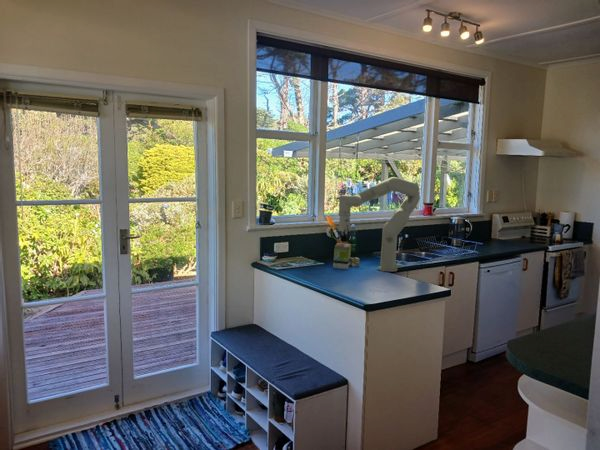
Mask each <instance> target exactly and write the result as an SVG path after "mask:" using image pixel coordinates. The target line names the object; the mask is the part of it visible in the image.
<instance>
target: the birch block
mask: <svg viewBox="0 0 600 450" xmlns="http://www.w3.org/2000/svg"><path fill="white" fill-rule="evenodd" d="M349 266H350V267H351V266H352V267H360V258H359V257H354V256H353V257H350V265H349Z"/></svg>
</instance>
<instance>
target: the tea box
mask: <svg viewBox="0 0 600 450" xmlns="http://www.w3.org/2000/svg"><path fill="white" fill-rule="evenodd" d="M351 252H352V244H351V243H344V242H341V243H340V242H337V243H336V244H335V245H334V249H333V260H332V261H333V262H332V263H333V264H332V267H333V269H341V270H348V269H349V267H350V266H351V265H350V258H351Z"/></svg>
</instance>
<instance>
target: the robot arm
mask: <svg viewBox="0 0 600 450" xmlns="http://www.w3.org/2000/svg"><path fill="white" fill-rule="evenodd" d="M392 192H397V193H399V194H402V195H404V196H405V195H406V196H405V198H404V199H403V201H402V202H401V204H400V205H399V206H398V207H397V209H396V210H395V211H394V212H393V216H392V217H391V218H390V220H389V221H387V222H385V223H384V225H383V227H382V231H381V233H382V235H381V250H380V251H381V252H380V253H381V254H380V264H379V265H380V266H377V269H378V271H381V272H387V273H389V272H390V273H391V272H397V271H398V268H402V267H403V264H399V263H396V260H397V257H396V256H397V245H398V235H399V234H400V233H401V231H402V230H403V229H404V228H405V227H406V225H407V224H408V222H409V220H410V215H411V214H412V213H413V212H414V210H415V209H416V207H417V205H418V204H419V201H420V186H419V185H418V184H417V183H416V182H413V181H409V180H404V179H402V178H399V177H396V176H391V177H389V178H387V179H385V180H383V181H381V182H378V183H376V184H374V185H372V186H371V187H369V188H367V189H365V190H363V191H361V192H359V193H356V194H354V195H350V194H341V195H339V199H338V201H339V202H338V217H339V219H338V220H339V221H338V222H339V223H338V229H339V231H340V242H341V243H344V242H345V243H346V242H347V234H348V232H350V231H351V207H355V208H358V207H360V206H362V205H363V204H365V203H367V202H370V201H372V200H374V199H380V198H381V197H384V196H386V195H388V194H391V193H392Z"/></svg>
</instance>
